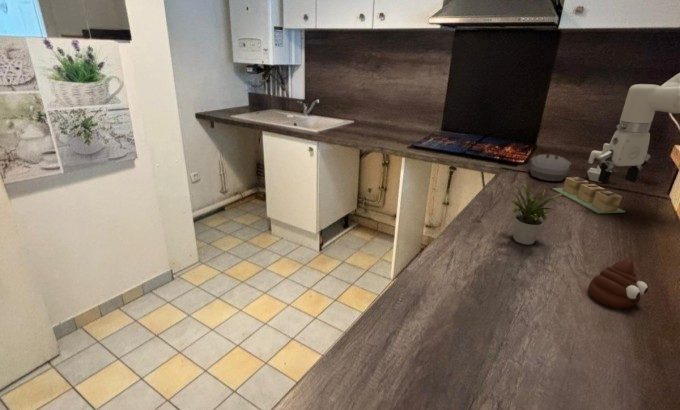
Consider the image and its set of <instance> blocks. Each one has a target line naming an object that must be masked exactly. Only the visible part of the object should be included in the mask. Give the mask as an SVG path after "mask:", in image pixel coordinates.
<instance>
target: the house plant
mask: <svg viewBox="0 0 680 410" xmlns="http://www.w3.org/2000/svg"><path fill="white" fill-rule="evenodd" d="M508 182H510V183H511V184H512V185H514V186H515V187H516V189H517V190H518V191H517V190H516V191H515V190H514V192H516V193H517V194H518V195H519V196H520V198H521V200H522V202H521V200H520V199H519V197H518V195H516V194H515V193H513V190H511V189H510V190H509V189H508V191H509V192H511V191H512V192H511V194H513V195H514V196H515V197H516V199H513V200H510V202H511V203H512V204H513V205H515V206H517V207H518V208H514V209H513V211H512V213H511V215H513V214H516V213H517V214H516V215H514V217H513V240H514V241H515V242H517V243H519V244H522V245H529V246H530V245H533V244H535V241H536V240H537V238H538V236H539V234H540V232H541V229H542V228H543V225H544V224H545V222H546V221H547V218H548V217H547V215H546V214H549V213H555V209H554V208H551V207H544V206H546V205H547V204H548V203H550V202H551V201H552V202H553V201H556V200H555V199H556V198H557V197H560V196H564V195H563V194H560V193H557V194H555V195H552V196H550V197H549V198H547V199H545V200H544V201H543V202H542V203H541V201H542V200H543V198H544V197H545V194H546V191H547V190H546V188H547V187H546V188H544V189H543V191H542V192H541V193H539V194H537V193H538V192H539V190H540V188H541V187H542V186H543V185H544V184H543V183H542V184H541V185H540V186H539V187H538V188H537V190H536V192H535V193H534V196H533V199H532V198H531V197H532V195H531V192H530V187H529V185H528V184H527V183H526V182H524V184H523V188H524V190H525V191H524V192H525V195H526V199H525V198H524V196H523V193H522V192H521V189H520V188H519V185H517V184H516V183H514V182H512V181H511V180H508ZM539 195H540V196H539ZM538 197H539V198H538ZM522 203H523V205H524V206H523V205H522ZM505 206H506V207H510V205H505ZM520 212H521V213H520Z"/></svg>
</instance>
